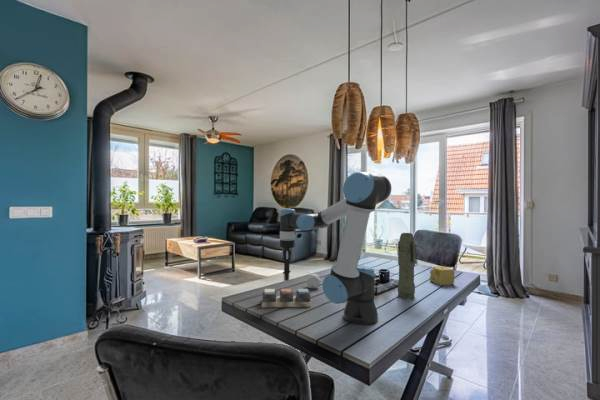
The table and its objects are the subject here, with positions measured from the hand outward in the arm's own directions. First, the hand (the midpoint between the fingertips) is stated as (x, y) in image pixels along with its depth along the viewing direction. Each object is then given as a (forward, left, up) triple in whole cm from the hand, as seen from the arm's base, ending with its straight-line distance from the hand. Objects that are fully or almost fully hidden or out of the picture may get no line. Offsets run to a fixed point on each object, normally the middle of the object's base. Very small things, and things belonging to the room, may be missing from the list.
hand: (286, 285), depth 145 cm
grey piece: (0, 0, -9) cm, 9 cm away
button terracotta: (0, 0, -5) cm, 5 cm away
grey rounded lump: (+19, -25, -9) cm, 32 cm away
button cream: (+3, +8, -5) cm, 10 cm away
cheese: (-2, -108, -9) cm, 108 cm away
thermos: (-14, -66, -9) cm, 68 cm away
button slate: (-3, -8, -5) cm, 10 cm away
